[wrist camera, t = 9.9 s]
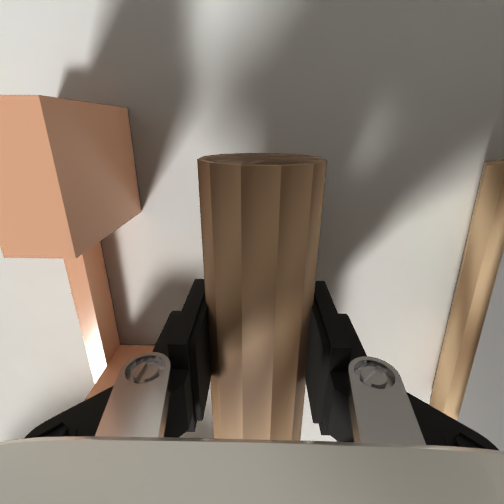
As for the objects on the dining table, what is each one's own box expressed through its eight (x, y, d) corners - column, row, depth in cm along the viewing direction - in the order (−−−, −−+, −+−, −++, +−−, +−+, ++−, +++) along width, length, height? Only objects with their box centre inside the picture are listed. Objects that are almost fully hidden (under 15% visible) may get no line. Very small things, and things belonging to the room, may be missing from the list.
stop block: (53, 107, 12) (-84, 93, 7) (127, 107, 12) (38, 95, 7) (117, 402, 17) (64, 503, 13) (166, 403, 17) (132, 505, 13)
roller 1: (210, 152, 10) (186, 164, 7) (314, 153, 10) (337, 166, 7) (221, 410, 15) (209, 488, 12) (293, 412, 15) (301, 493, 12)
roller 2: (464, 161, 12) (538, 174, 9) (556, 157, 12) (666, 168, 9) (416, 391, 17) (455, 455, 13) (483, 389, 16) (538, 454, 13)
